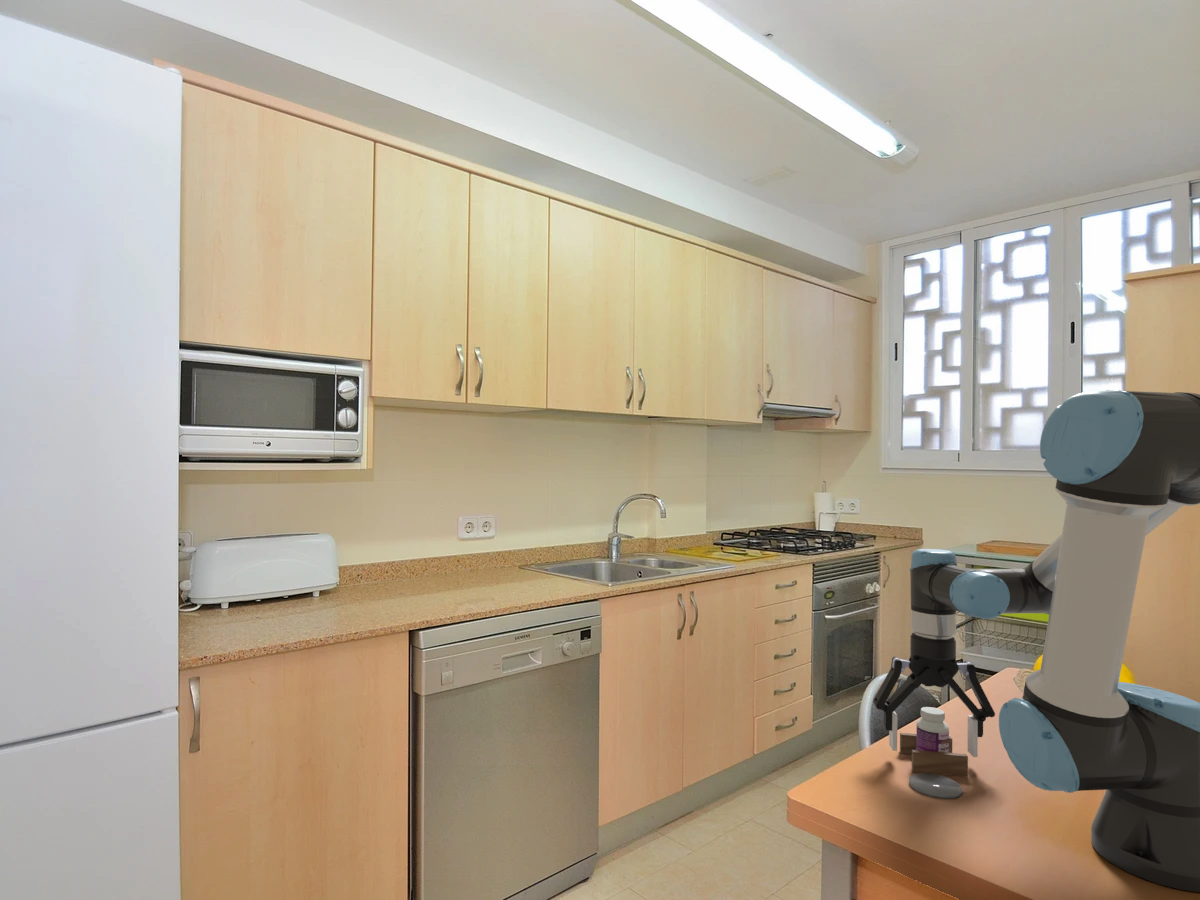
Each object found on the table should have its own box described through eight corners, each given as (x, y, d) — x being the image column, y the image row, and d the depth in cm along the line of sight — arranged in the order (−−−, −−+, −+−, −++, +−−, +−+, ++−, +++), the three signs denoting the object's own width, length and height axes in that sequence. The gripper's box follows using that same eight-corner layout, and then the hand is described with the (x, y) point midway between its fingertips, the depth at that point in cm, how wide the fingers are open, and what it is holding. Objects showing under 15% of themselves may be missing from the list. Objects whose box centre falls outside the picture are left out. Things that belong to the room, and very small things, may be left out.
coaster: (969, 800, 111) (969, 797, 111) (916, 796, 113) (916, 792, 113) (952, 778, 119) (952, 775, 119) (903, 774, 120) (903, 771, 120)
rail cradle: (967, 776, 120) (967, 756, 120) (913, 771, 122) (913, 752, 122) (950, 755, 129) (950, 736, 129) (899, 751, 130) (899, 732, 131)
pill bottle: (945, 772, 122) (945, 717, 122) (913, 764, 125) (913, 711, 125) (951, 762, 126) (951, 709, 126) (920, 754, 129) (920, 703, 129)
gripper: (998, 633, 127) (998, 748, 127) (857, 625, 132) (856, 737, 131) (1015, 643, 120) (1015, 765, 120) (865, 635, 124) (865, 753, 124)
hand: (932, 751), depth 125 cm, fingers open, 13 cm apart
